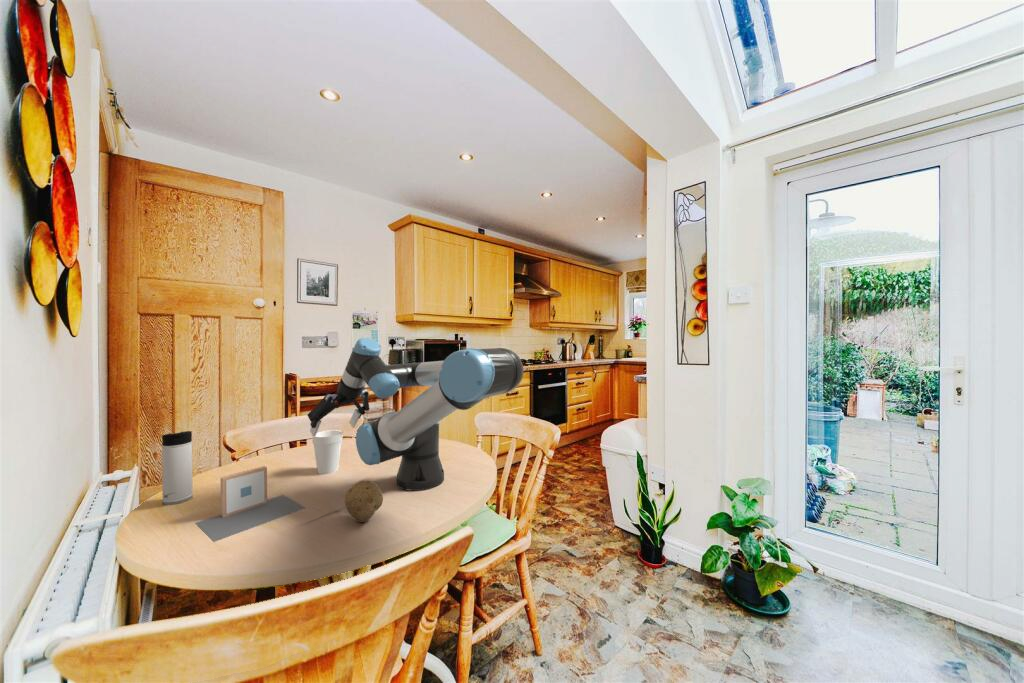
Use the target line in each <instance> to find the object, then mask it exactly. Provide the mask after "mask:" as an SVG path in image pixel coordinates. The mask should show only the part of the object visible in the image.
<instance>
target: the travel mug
mask: <svg viewBox="0 0 1024 683" xmlns="http://www.w3.org/2000/svg"><path fill="white" fill-rule="evenodd" d="M192 433H193V431H192V430H186V431H180V432H175V433H166V434H163V435H161V441H162V443H161V462H162V463H161V465H162V466H161V471H162V472H161V475H162V477H161V478H162V479H161V480H162V505H163V506H164V507H166V506H173V505H179V504H183V503H185V502H188V501H190V500H192V499H193V496H194V495H193V494H194V493H193V486H194V485H193V437H192Z"/></svg>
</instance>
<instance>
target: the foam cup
mask: <svg viewBox="0 0 1024 683" xmlns="http://www.w3.org/2000/svg"><path fill="white" fill-rule="evenodd" d="M343 437H344V435H343V431H342V430H339V429H338V430H336V429H330V430H329V429H327V430H322V431H317V433H316V436H313V435H312V444H313V449H314V456H315V463H316V470H317V473H318V474H319V475H329V474H333V473H336V472H337V471H339V464H340V457H341V450H342V441H343V440H344V438H343Z"/></svg>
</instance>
